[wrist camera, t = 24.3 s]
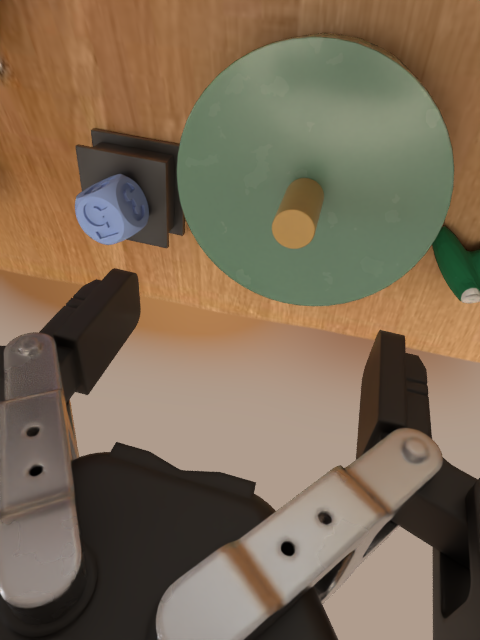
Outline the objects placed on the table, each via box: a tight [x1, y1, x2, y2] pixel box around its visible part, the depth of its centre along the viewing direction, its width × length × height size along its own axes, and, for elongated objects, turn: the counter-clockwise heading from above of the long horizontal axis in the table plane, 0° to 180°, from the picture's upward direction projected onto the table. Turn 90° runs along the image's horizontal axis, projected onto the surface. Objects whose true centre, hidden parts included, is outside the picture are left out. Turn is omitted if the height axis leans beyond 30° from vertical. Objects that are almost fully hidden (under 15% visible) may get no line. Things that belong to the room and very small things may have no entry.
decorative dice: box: [75, 174, 149, 245], centre depth 35 cm, size 4×4×4 cm
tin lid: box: [177, 35, 454, 306], centre depth 29 cm, size 18×18×6 cm
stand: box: [76, 129, 185, 248], centre depth 38 cm, size 8×8×4 cm
